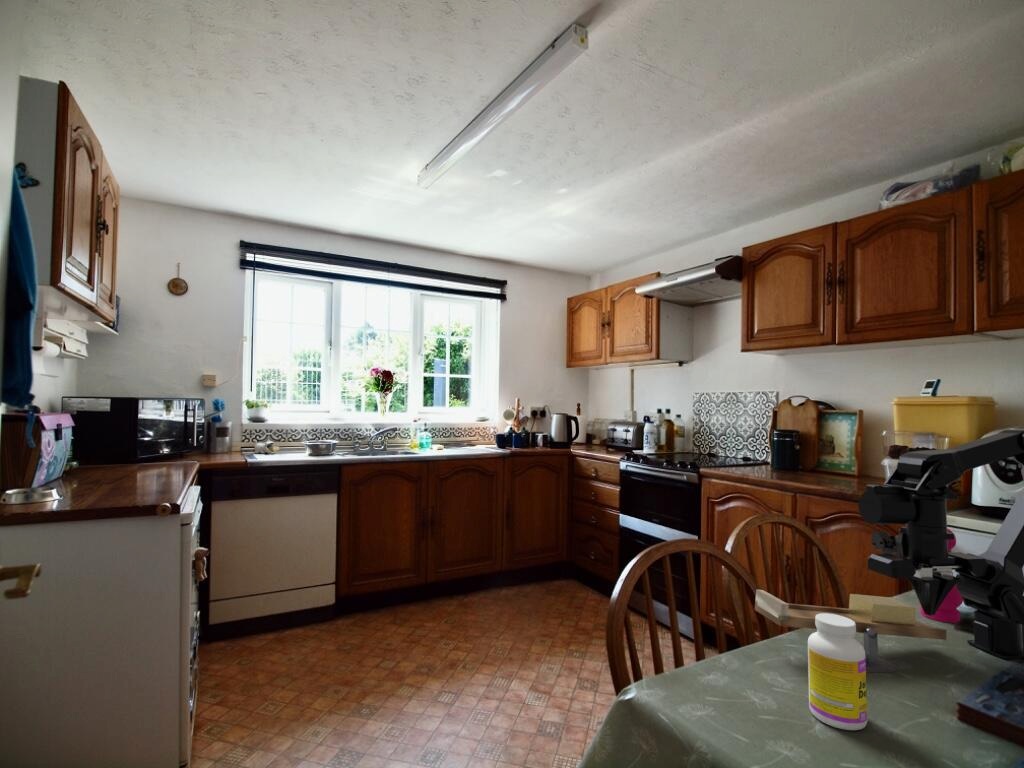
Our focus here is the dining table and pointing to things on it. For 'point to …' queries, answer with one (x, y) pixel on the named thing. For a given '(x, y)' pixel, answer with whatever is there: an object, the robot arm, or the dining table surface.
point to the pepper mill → (948, 599)
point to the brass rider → (881, 610)
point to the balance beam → (806, 614)
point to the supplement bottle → (837, 673)
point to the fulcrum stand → (874, 653)
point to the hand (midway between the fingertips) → (929, 615)
